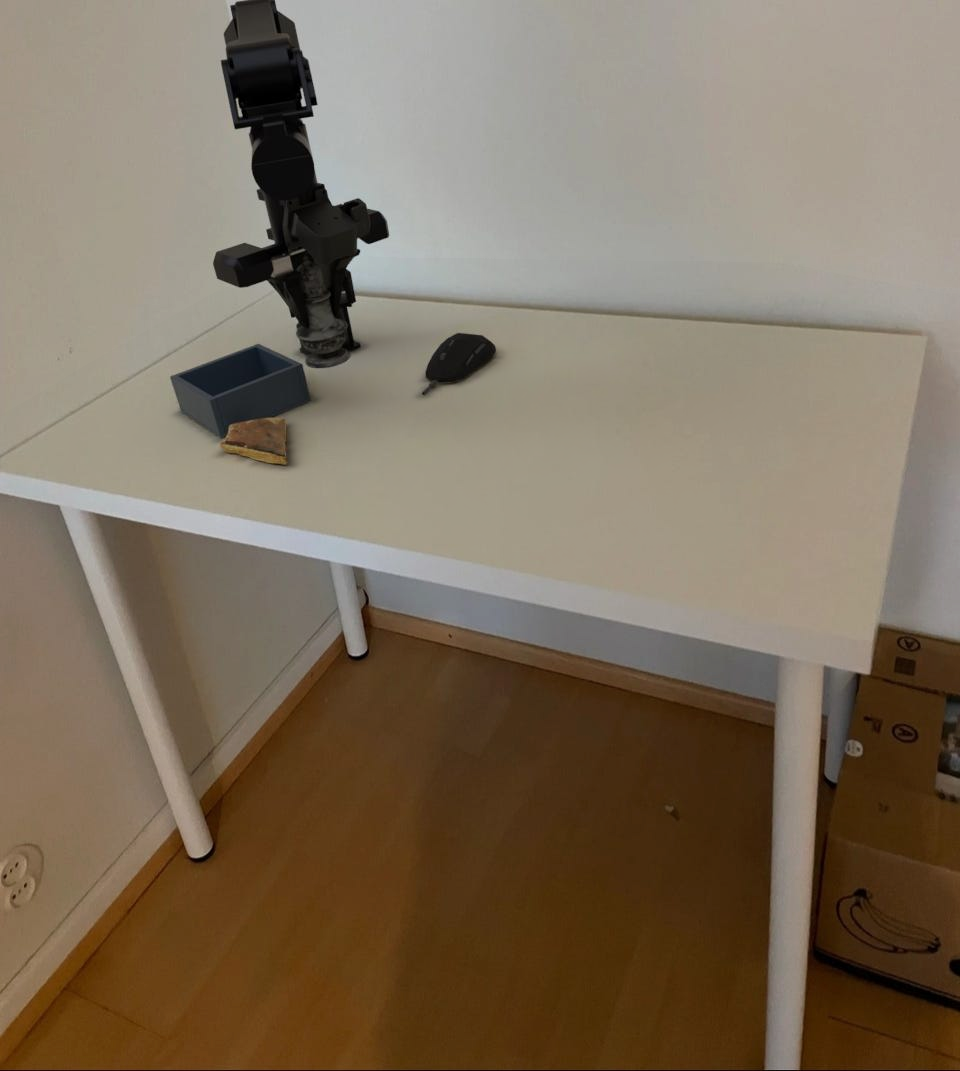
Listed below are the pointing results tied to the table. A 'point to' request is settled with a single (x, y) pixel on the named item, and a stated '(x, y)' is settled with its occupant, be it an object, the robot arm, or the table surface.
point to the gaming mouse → (458, 358)
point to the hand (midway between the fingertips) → (320, 321)
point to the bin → (240, 388)
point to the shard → (258, 440)
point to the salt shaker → (320, 321)
